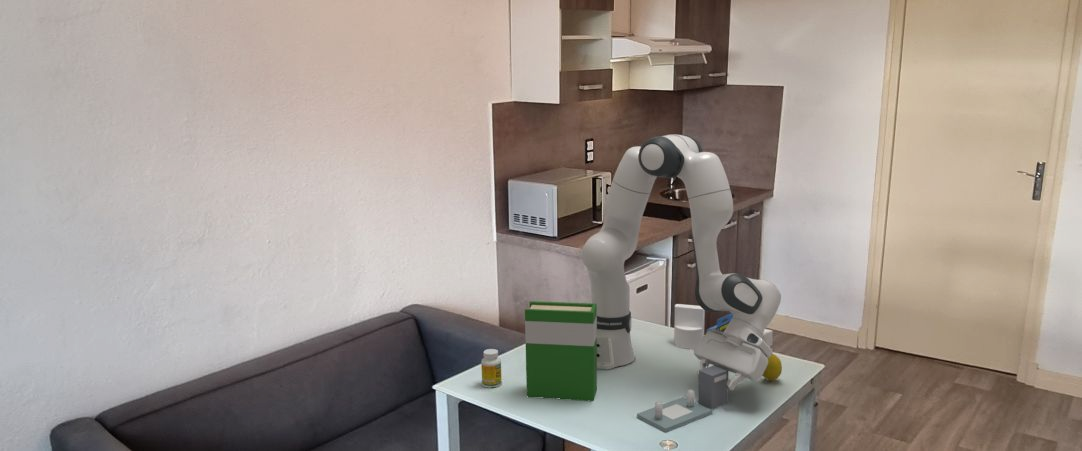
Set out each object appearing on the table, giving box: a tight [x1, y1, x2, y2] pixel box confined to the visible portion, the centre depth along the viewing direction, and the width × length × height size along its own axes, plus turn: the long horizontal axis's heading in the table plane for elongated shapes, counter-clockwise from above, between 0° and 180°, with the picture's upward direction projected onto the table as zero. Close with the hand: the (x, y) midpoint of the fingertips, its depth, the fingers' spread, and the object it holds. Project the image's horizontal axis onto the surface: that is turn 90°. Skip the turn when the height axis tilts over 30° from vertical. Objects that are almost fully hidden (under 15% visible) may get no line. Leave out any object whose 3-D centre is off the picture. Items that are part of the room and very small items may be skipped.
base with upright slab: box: [673, 303, 706, 350], centre depth 244 cm, size 9×9×12 cm
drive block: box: [697, 365, 730, 411], centre depth 203 cm, size 6×5×9 cm
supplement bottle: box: [480, 348, 503, 388], centre depth 217 cm, size 5×5×10 cm
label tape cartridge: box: [705, 312, 733, 334], centre depth 235 cm, size 9×4×12 cm, turn 136°
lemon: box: [762, 352, 783, 382], centre depth 215 cm, size 6×6×8 cm
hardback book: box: [524, 300, 598, 402], centre depth 209 cm, size 18×7×24 cm, turn 80°
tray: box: [636, 389, 713, 433], centre depth 196 cm, size 16×10×5 cm, turn 126°
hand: (714, 382), depth 202 cm, fingers open, 8 cm apart
